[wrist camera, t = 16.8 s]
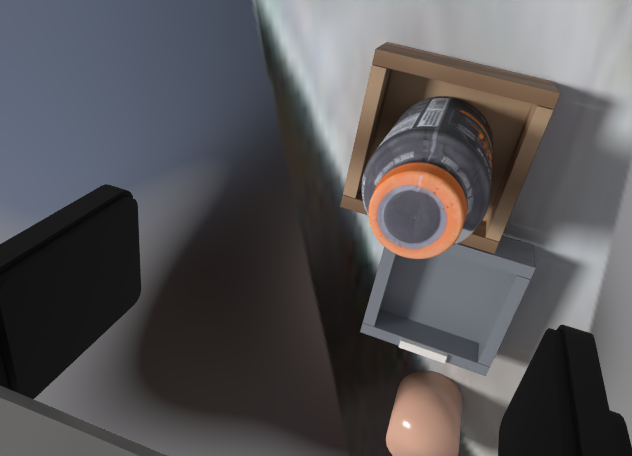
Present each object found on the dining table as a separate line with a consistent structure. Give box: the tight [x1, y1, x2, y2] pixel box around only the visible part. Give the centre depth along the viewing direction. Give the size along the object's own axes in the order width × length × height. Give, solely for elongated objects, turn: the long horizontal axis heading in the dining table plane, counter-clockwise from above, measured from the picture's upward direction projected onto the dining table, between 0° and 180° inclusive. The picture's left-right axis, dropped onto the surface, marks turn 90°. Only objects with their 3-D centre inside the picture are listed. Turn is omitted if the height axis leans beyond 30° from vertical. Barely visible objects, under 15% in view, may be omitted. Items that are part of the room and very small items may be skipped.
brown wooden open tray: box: [340, 42, 560, 254], centre depth 30 cm, size 10×10×3 cm
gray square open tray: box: [360, 236, 536, 376], centre depth 34 cm, size 9×9×3 cm
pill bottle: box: [362, 96, 493, 259], centre depth 26 cm, size 6×6×11 cm
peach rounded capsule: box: [386, 371, 463, 456], centre depth 38 cm, size 5×5×5 cm
